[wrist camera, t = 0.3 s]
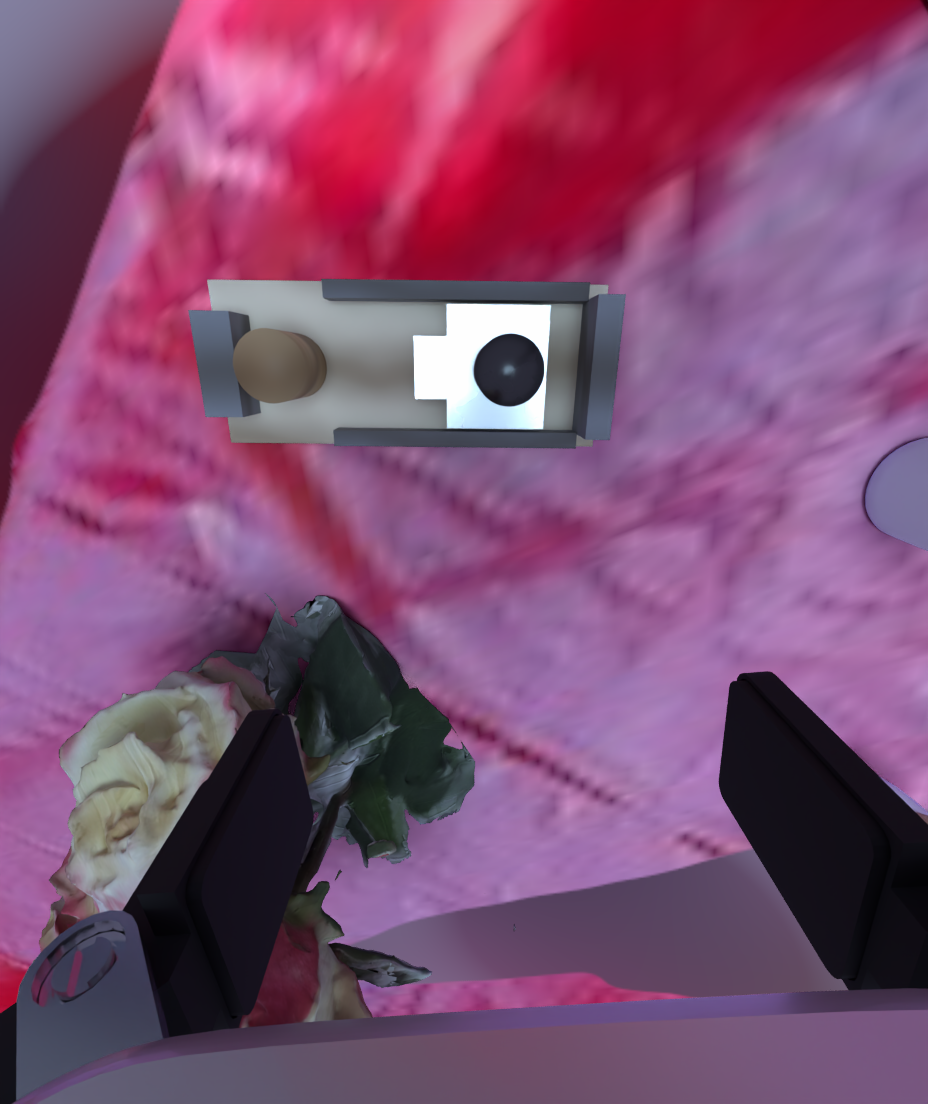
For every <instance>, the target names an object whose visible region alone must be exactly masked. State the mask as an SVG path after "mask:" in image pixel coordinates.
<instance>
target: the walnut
mask: <svg viewBox="0 0 928 1104" xmlns="http://www.w3.org/2000/svg"><path fill="white" fill-rule="evenodd" d="M233 368H234V372H235V375H236V378H237V380H238V382H239V383H240V385H241V386H242V388H243V389H244V390H245V391H246V392H247V393H248V394H249V395H251V396H252V397H253V398H255V399H257V400H259V401H262V402H265V403H272V404H275V403H282V402H286V401H291V400H295V399H299V398H304V397H308V396H311V395H313V394H314V393H316V392H317V391H318V390H319V389H320V388H321V387H322V385H323V383H324V381H325V379H326V374H327V364H326V360H325V356H324V354H323V352H322V350H321V349H320V347H319V346H318V345H317V344H316V343H315V342H314V341H313V340H312V339H310V338H309V337H307V336H305V335H302V334H299V333H293V332H287V331H281V330H275V329H269V328H259V329H254V330H252V331H249V332H248V333H246V334H245V335H244V336H243V337H242V338H241V339H240V340H239V341H238V343H237V345H236V347H235V350H234V354H233Z"/></svg>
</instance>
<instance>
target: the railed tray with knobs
mask: <svg viewBox="0 0 928 1104" xmlns="http://www.w3.org/2000/svg"><path fill="white" fill-rule="evenodd" d="M321 280H322V281H270V280H207V281H208V288H209V294H210V301H211V308H212V311H202V310H188V311H189V317H190V323H191V329H192V335H193V341H194V347H195V354H196V360H197V366H198V372H199V378H200V384H201V390H202V397H203V403H204V409H205V415H206V417H228V423H229V430H230V436H231V442H236V443H324V444H334V446H405V447H494V448H576V446H591V447H592V444H593V440H610V432H611V423H612V414H613V405H614V396H615V387H616V378H617V369H618V360H619V351H620V342H621V333H622V324H623V315H624V306H625V297H626V294H607V293H608V285H590V283H588V282H512V281H436V280H360V279H321ZM447 304H493V305H551V310H550V326H549V341H548V357H547V372H546V388H545V403H544V419H543V429H485V428H447V399H415V379H414V336H447ZM259 328H269V329H275V330H281V331H287V332H293V333H299V334H302V335H305V336H307V337H309V338H310V339H312V340H313V341H314V342H315V343H316V344H317V345H318V346H319V347H320V349H321V350H322V352H323V354H324V356H325V360H326V364H327V374H326V379H325V381H324V383H323V385H322V387H321V388H320V389H319V390H318V391H317V392H316V393H314V394H313V395H311V396H308V397H304V398H299V399H295V400H291V401H286V402H282V403H275V404H272V403H265V402H262V401H259V400H257V399H255V398H253V397H252V396H251V395H249V394H248V393H247V392H246V391H245V390H244V389H243V388H242V386H241V385H240V383H239V382H238V380H237V378H236V375H235V372H234V368H233V354H234V350H235V347H236V345H237V343H238V341H239V340H240V339H241V338H242V337H243V336H244V335H245V334H246V333H248V332H249V331H252V330H254V329H259Z"/></svg>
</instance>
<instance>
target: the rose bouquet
mask: <svg viewBox="0 0 928 1104" xmlns="http://www.w3.org/2000/svg"><path fill="white" fill-rule="evenodd" d="M266 595H267V594H266ZM267 596H268V595H267ZM268 597H269V596H268ZM269 598H270V597H269ZM270 600H271V601H272V602H273V603H274V601H273V600H272V599H271V598H270ZM274 605H275V603H274ZM275 606H276V605H275ZM276 607H277V606H276ZM291 617H294V619H295V620H296V622H297V624H298V625H297V626H296V627H294V626H291V625H290V624H288V623H286V622H285V621H283V619H282V617H281V615H280V612H279V610H278V608H276V611H275V613H274V616H273V618H272V621H271V623H270V626H269V628H268V631H267V633H266V635H265V637H264V639H263V641H262V643H261V645H260V647H259V649H258V651H257V653H256V654H252V653H240V652H228V651H214V652H213V653H211V654H210V656H208V657H207V658H205V659H203V660H202V661H201V664H199V665H197V666H195V667H193V668H192V670H190V671H189V672H183V671H174V672H172V673H170V674H169V675H167V676H166V677H164V678H163V679H162V680H161V681H160V682H159V683H158V685H157V686H156V688H155V689H153V690H150V691H142V692H139V693H138V694H130V695H128V694H124V693H122V698H121V699H120V700H119V701H118V702H117V703H115V704H113V705H111V706H109V707H107V708H105V709H103V710H100V711H99V712H98V713H96V714H95V715H94V716H93V717H92V718H91V719H90V720H89V721H88V722H87V723H86V725H85V726H84V727H83V728H82V729H81V730H80V731H79V732H77V733H75V734H74V735H72V736H71V737H70V738H68V739H67V740H66V742H65V743H64V744H63V745H62V746H61V747H60V749H59V758H60V765H61V767H62V768H63V769H64V771H65V772H66V774H67V775H68V777H69V778H70V779H71V781H72V782H73V784H74V786H75V787H74V789H73V794H74V797H75V799H76V800H77V801H76V807H75V808H74V809H73V810H72V812H71V814H70V817H69V820H68V828H69V829H70V831H71V833H72V835H73V838H72V842H71V847H70V849H69V852H68V854H67V856H66V857H65V859H64V861H63V864H62V866H61V867H60V869H59V870H58V871H57V872H55V873H54V874H53V875H52V877H51V878H50V879H49V881H50V882H51V883H52V884H53V886H54V887H55V888H56V890H57V892H56V893H57V894H59V895H60V896H62V897H61V899H60V900H59V901H56V902H54V903H53V904H51V916H50V919H49V921H48V923H47V926H46V927H45V928H44V929H43V930H42V937H41V938H40V940H39V945H40V950H41V952H42V951H43V950H44V949H45V948H46V947H47V946H48V945H49V944H50V943H51V942H52V941H53V940H54V939H55V938H56V937H57V936H59V935H60V934H61V933H63V932H64V931H66V930H67V929H68V928H70V927H71V926H73V925H74V924H76V923H77V922H79V921H81V920H84V919H86V918H88V917H90V916H92V915H94V914H98V913H101V912H105V911H109V910H116V911H122V910H123V909H124V907H125V905H126V904H127V902H128V900H129V899H130V897H131V896H132V894H133V892H134V891H135V889H136V888H137V886H138V884H139V883H140V881H141V880H142V878H143V876H144V875H145V873H146V872H147V870H148V868H149V867H150V865H151V864H152V862H153V860H154V859H155V857H156V856H157V854H158V852H159V851H160V849H161V847H162V846H163V844H164V843H165V841H166V839H167V838H168V836H169V835H170V833H171V831H172V830H173V828H174V827H175V825H176V823H177V822H178V820H179V819H180V817H181V815H182V814H183V812H184V811H185V809H186V807H187V806H188V804H189V803H190V801H191V799H192V798H193V796H194V794H195V793H196V791H197V790H198V788H199V787H200V786H201V784H202V783H203V782H204V781H206V780H207V779H208V778H209V776H210V774H211V773H212V771H213V770H214V768H215V766H216V765H217V763H218V761H219V760H220V758H221V757H222V755H223V753H224V752H225V750H226V748H227V747H228V745H229V743H230V742H231V740H232V739H233V737H234V735H235V734H236V732H237V730H238V729H239V727H240V726H241V724H242V722H243V721H244V719H245V717H246V716H247V714H248V713H249V712H250V711H252V710H264V709H280V711H281V712H282V715H288V716H289V717H290V719H291V723H292V727H293V731H294V735H295V739H296V743H297V747H298V751H299V755H300V759H301V763H302V767H303V771H304V775H305V779H306V783H307V787H308V791H309V795H310V799H311V803H312V807H313V815H314V813H315V812H318V814H319V815H318V818H317V820H316V821H315V822H314V823H313V826H312V830H311V833H310V836H309V839H308V842H307V845H306V848H305V851H304V855H303V858H302V861H301V864H300V867H299V870H298V873H297V876H296V879H295V882H294V886H293V889H292V892H291V895H290V898H289V901H288V904H287V907H286V910H285V913H284V917H283V920H282V923H281V926H280V929H279V932H278V935H277V938H276V941H275V944H274V948H273V951H272V954H271V957H270V960H269V963H268V966H267V969H266V972H265V975H264V979H263V982H262V985H261V988H260V991H259V994H258V997H257V1000H256V1003H255V1006H254V1008H253V1010H252V1012H251V1013H250V1014H249V1015H243V1016H242V1019H241V1022H240V1025H239V1028H246V1027H258V1026H269V1025H281V1024H292V1023H304V1022H315V1021H329V1020H344V1019H359V1018H373V1017H372V1014H371V1012H370V1011H369V1009H368V1007H367V1006H366V1004H365V1002H364V999H363V995H362V991H361V988H360V985H359V982H358V980H365V981H367V982H369V983H371V984H374V985H376V986H380V987H381V988H383V987H390V986H400V985H404V984H409V983H413V982H417V981H420V980H423V979H425V978H426V977H428V976H430V975H431V974H432V972H431V971H429V970H428V969H427V968H425V967H416V966H412V965H410V964H409V963H407V962H405V961H403V960H401V959H399V958H396V957H395V956H391V955H387V954H384V953H382V952H378V951H374V950H365V949H360V948H356V947H351V946H348V945H345V944H341V943H332V944H328V942H330V941H332V940H334V939H336V938H339V937H341V936H344V933H343V931H342V929H341V926H340V925H339V924H338V923H337V922H336V921H335V920H334V919H333V918H331V917H330V916H329V915H327V914H326V913H325V912H324V911H323V910H322V908H321V906H322V902H323V900H324V898H325V896H326V894H327V893H328V891H329V888H330V886H329V882H327V881H321V882H318V884H317V885H316V886H315V887H314V889H313V890H311V891H309V892H306V890H307V887H308V884H309V882H310V881H311V879H312V878H313V877H314V875H315V874H316V873H317V871H318V870H319V867H320V865H321V862H322V860H323V857H324V855H325V853H326V851H327V849H328V847H329V845H330V843H331V837H333V838H334V839H337V840H338V839H339V838H340V837H342V836H346V840H347V841H348V844H349V845H351V844H355V843H358V844H359V846H360V849H361V853H362V857H363V862H364V866H365V867H366V868H368V859H369V858H371V857H372V858H377V857H381V858H385V857H386V858H387V860H389V861H390V862H391V863H392V864H396V863H400V862H401V861H402V860H404V858H407V859H408V857H409V856H410V857H411V851H409V849H408V846H407V844H408V843H407V842H406V841H407V836H408V830H409V826H408V824H407V822H406V819H405V813H404V810H405V809H406V810H408V812H409V815H410V814H411V816H413V817H414V818H415V819H416V820H417V821H418V822H419V823H420V825H421V824H426V823H431V822H432V821H433V820H434V819H436V818H438V817H440V816H441V815H442V816H441V817H440V818H439V819H440V820H441V819H442V818H443V819H444V817H447V816H448V815H452V814H453V813H454V812H455V813H456V812H458V811H459V810H460V807H461V805H462V803H463V800H464V797H465V795H466V794H467V793H468V792H469V790H470V789H471V788H472V787H473V786H474V769H475V761H474V760H473V758H472V756H471V755H470V753H469V752H468V750H467V749H466V747H465V746H464V745H463V743H462V742H461V743H462V745H463V749H460V750H459V749H456V748H454V747H451V746H448V745H444V743H443V741H444V739H445V737H446V736H447V735H448V733H449V732H450V730H451V727H452V726H451V724H450V723H449V719H447V718H446V717H445V716H444V715H442V714H441V713H440V712H439V711H438V710H437V709H436V708H435V707H434V706H433V705H432V704H431V703H430V702H429V701H428V700H427V699H426V698H425V697H424V696H423V695H422V694H421V693H420V691H419V690H418V688H417V687H416V688H417V689H415V688H414V689H409V687H408V684H407V683H405V681H404V679H403V677H402V676H401V674H400V670H399V668H398V665H397V663H396V662H395V660H394V659H393V658H392V657H391V655H390V654H389V653H388V652H387V651H386V650H385V649H384V647H383V646H382V644H381V643H380V642H379V641H378V640H377V639H376V638H375V637H374V636H373V635H372V634H371V633H370V632H369V631H367V630H366V629H364V628H363V627H361V626H360V625H358V624H356V623H355V622H354V621H352V620H351V619H350V618H348V617H347V616H345V615H344V614H343V611H342V609H341V608H340V606H339V605H338V604H337V602H336V601H335V600H333V599H329V597H327V596H316V597H315V599H314V600H313V601H309V602H307V603H306V605H305V606H304V608H303V609H301V610H299V611H297V612H296V613H295V614H294V616H291ZM300 657H301V658H302V659H303V660H304V661H306V662H308V663H309V664H308V666H307V668H306V670H305V675H304V680H303V678H302V674H301V672H300V668H299V666H298V658H300ZM301 684H302V688H301V691H300V694H299V696H298V701H297V703H296V709H295V713H294V716H292V715H291V714H289V713H288V705H289V702H290V701H291V700H292V699H293V697H294V696H295V695H296V693H297V691H298V689H299V688H300V686H301ZM452 728H453V727H452ZM453 730H454V729H453ZM454 731H455V730H454ZM455 733H456V732H455ZM456 734H457V733H456ZM439 819H438V820H439ZM367 858H368V859H367ZM341 872H342V871H340V870H339V872H338V874H337V876H336V879H337V877H338V876H339V874H340V873H341ZM336 879H335V880H336ZM514 930H515V925H514ZM34 961H35V960H34ZM34 961H33V962H34Z"/></svg>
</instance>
